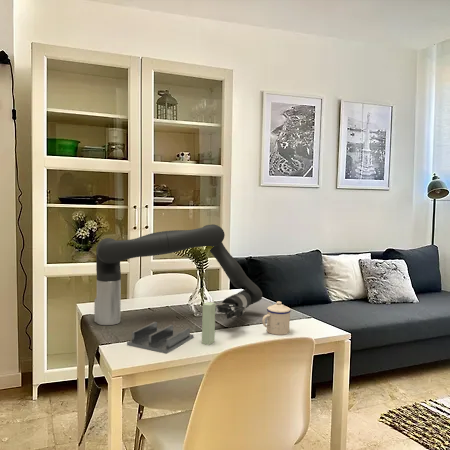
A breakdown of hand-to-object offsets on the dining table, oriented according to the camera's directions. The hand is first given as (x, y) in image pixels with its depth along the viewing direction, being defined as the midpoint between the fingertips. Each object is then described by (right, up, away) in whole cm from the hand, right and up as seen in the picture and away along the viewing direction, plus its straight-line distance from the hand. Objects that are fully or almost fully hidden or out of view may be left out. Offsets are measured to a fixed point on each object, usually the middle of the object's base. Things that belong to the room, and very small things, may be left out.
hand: (217, 314), depth 164 cm
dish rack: (-20, -8, -6) cm, 22 cm away
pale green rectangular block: (-3, -9, -5) cm, 11 cm away
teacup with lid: (+22, -9, +8) cm, 25 cm away
